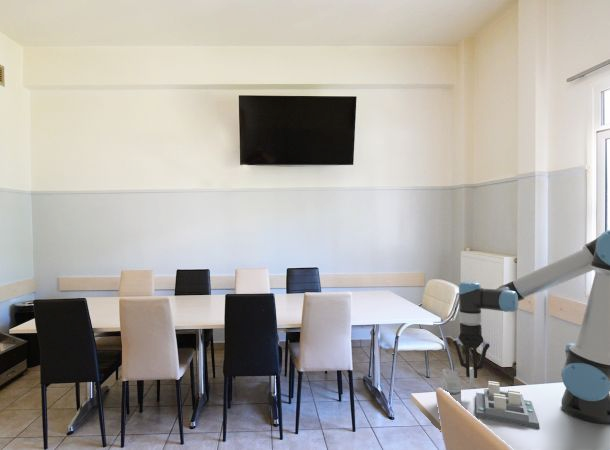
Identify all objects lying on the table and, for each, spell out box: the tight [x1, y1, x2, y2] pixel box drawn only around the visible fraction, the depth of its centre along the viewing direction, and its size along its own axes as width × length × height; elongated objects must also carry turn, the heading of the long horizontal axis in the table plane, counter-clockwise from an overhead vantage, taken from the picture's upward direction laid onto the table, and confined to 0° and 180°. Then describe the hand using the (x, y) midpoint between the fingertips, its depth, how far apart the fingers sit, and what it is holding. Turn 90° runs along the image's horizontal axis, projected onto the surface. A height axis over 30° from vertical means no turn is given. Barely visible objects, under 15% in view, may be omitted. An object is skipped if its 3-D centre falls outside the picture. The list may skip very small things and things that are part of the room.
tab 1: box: [488, 380, 501, 395], centre depth 132 cm, size 4×3×6 cm
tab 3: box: [507, 389, 521, 406], centre depth 124 cm, size 4×3×6 cm
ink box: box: [442, 369, 462, 405], centre depth 129 cm, size 8×5×12 cm, turn 168°
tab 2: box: [494, 393, 506, 410], centre depth 121 cm, size 4×3×6 cm
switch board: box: [475, 388, 540, 429], centre depth 125 cm, size 18×17×4 cm
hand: (472, 385), depth 135 cm, fingers closed
